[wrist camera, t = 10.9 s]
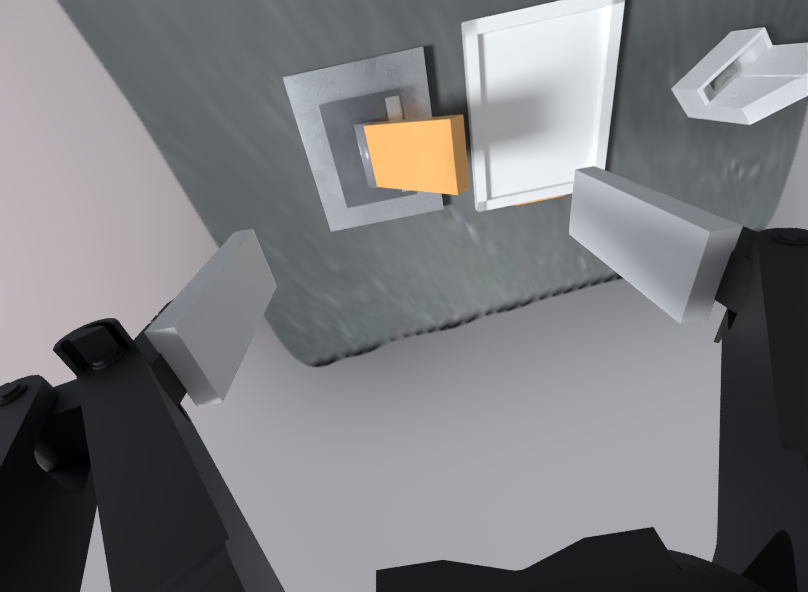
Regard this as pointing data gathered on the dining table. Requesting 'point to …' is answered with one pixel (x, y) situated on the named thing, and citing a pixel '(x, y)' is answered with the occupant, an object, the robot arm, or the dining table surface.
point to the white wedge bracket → (745, 79)
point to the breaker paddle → (415, 154)
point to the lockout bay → (539, 97)
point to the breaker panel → (336, 139)
